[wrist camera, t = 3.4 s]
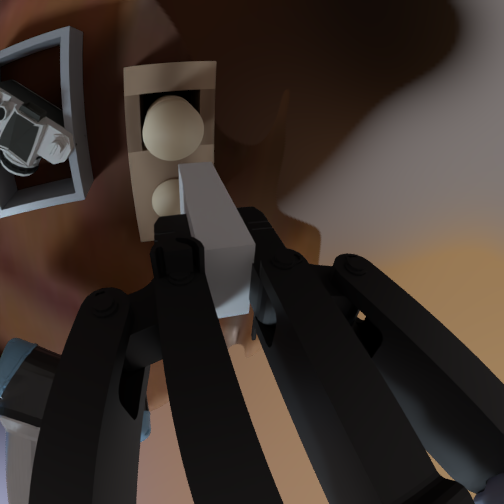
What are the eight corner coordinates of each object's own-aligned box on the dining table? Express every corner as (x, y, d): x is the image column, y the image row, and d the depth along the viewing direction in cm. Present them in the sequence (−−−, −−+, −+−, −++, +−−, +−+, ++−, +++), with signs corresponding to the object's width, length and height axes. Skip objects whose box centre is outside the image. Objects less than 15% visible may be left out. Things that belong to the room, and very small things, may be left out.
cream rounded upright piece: (147, 142, 27) (144, 164, 22) (145, 97, 24) (141, 105, 19) (193, 137, 29) (204, 157, 23) (193, 93, 26) (204, 100, 20)
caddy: (14, 197, 30) (-2, 218, 25) (-6, 62, 17) (-28, 65, 13) (93, 180, 33) (84, 199, 29) (83, 32, 21) (69, 25, 17)
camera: (-17, 126, 22) (-56, 149, 14) (9, 69, 19) (-30, 76, 12) (62, 177, 31) (38, 212, 24) (94, 123, 29) (73, 142, 21)
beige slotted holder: (141, 210, 38) (141, 243, 32) (131, 68, 27) (123, 67, 20) (203, 203, 41) (214, 233, 35) (204, 63, 29) (217, 60, 23)
